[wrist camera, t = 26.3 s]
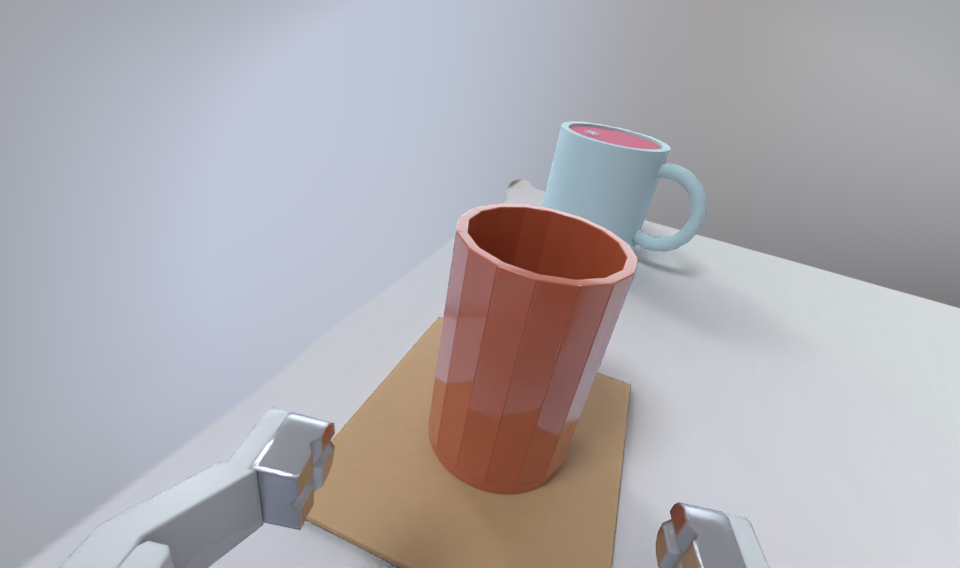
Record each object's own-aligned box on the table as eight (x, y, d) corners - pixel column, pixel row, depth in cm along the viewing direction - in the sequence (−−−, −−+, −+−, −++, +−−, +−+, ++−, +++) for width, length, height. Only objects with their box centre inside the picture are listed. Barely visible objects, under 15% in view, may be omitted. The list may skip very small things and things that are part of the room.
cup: (399, 419, 21) (419, 217, 16) (495, 367, 25) (535, 195, 20) (498, 526, 17) (565, 307, 12) (591, 444, 21) (669, 256, 16)
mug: (517, 235, 42) (541, 124, 37) (564, 215, 49) (590, 119, 44) (659, 300, 35) (712, 176, 30) (691, 266, 42) (739, 161, 37)
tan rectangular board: (598, 668, 14) (601, 664, 14) (278, 506, 17) (278, 501, 17) (629, 388, 26) (630, 384, 26) (438, 320, 28) (439, 316, 28)
